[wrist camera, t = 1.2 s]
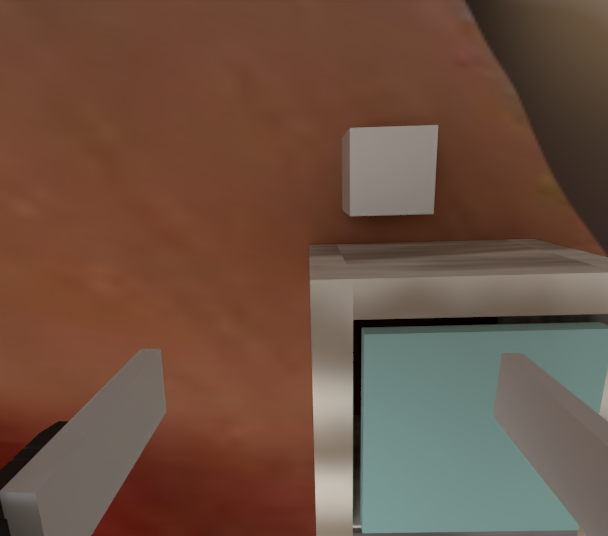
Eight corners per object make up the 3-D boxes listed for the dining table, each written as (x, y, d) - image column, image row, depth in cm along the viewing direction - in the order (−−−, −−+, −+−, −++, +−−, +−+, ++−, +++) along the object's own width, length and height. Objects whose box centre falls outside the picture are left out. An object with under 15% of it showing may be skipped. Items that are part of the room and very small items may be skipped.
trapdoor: (361, 327, 22) (364, 334, 21) (600, 322, 21) (614, 328, 20) (360, 519, 25) (362, 533, 24) (567, 516, 25) (578, 530, 24)
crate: (308, 244, 33) (309, 281, 20) (533, 238, 32) (669, 272, 20) (313, 437, 37) (317, 560, 25) (510, 433, 37) (609, 556, 25)
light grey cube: (341, 138, 31) (349, 127, 25) (413, 135, 30) (438, 125, 25) (342, 209, 32) (349, 216, 26) (410, 208, 32) (433, 214, 26)
